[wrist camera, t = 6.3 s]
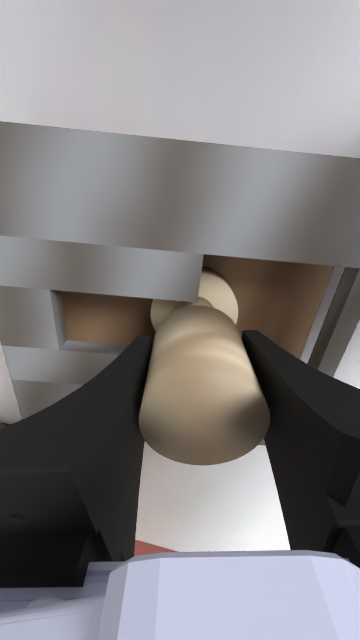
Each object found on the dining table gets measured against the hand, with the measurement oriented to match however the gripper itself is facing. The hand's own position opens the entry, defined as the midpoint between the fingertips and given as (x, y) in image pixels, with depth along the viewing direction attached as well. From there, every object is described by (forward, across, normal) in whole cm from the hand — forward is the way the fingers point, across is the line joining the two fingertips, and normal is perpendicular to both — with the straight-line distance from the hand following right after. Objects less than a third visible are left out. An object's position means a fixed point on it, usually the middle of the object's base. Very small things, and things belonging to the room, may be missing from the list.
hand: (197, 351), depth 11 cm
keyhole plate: (+6, +1, 0) cm, 6 cm away
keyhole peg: (+5, 0, 0) cm, 5 cm away
